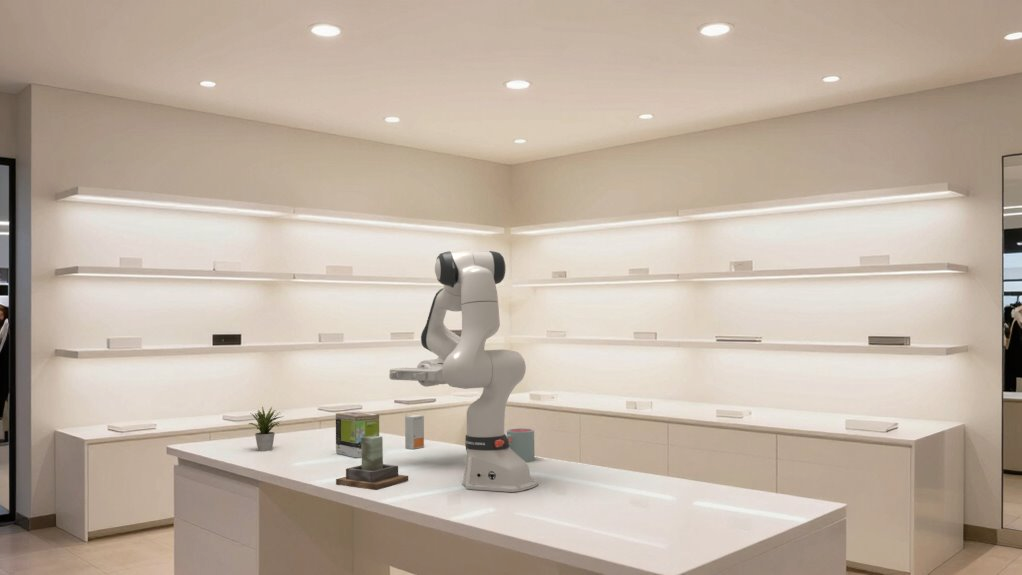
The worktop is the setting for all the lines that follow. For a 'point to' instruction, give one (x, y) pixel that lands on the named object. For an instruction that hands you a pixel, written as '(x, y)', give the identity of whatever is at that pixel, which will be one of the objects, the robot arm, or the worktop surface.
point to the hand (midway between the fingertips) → (402, 376)
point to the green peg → (372, 453)
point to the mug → (522, 443)
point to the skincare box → (414, 431)
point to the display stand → (372, 477)
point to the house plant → (265, 430)
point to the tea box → (354, 431)
